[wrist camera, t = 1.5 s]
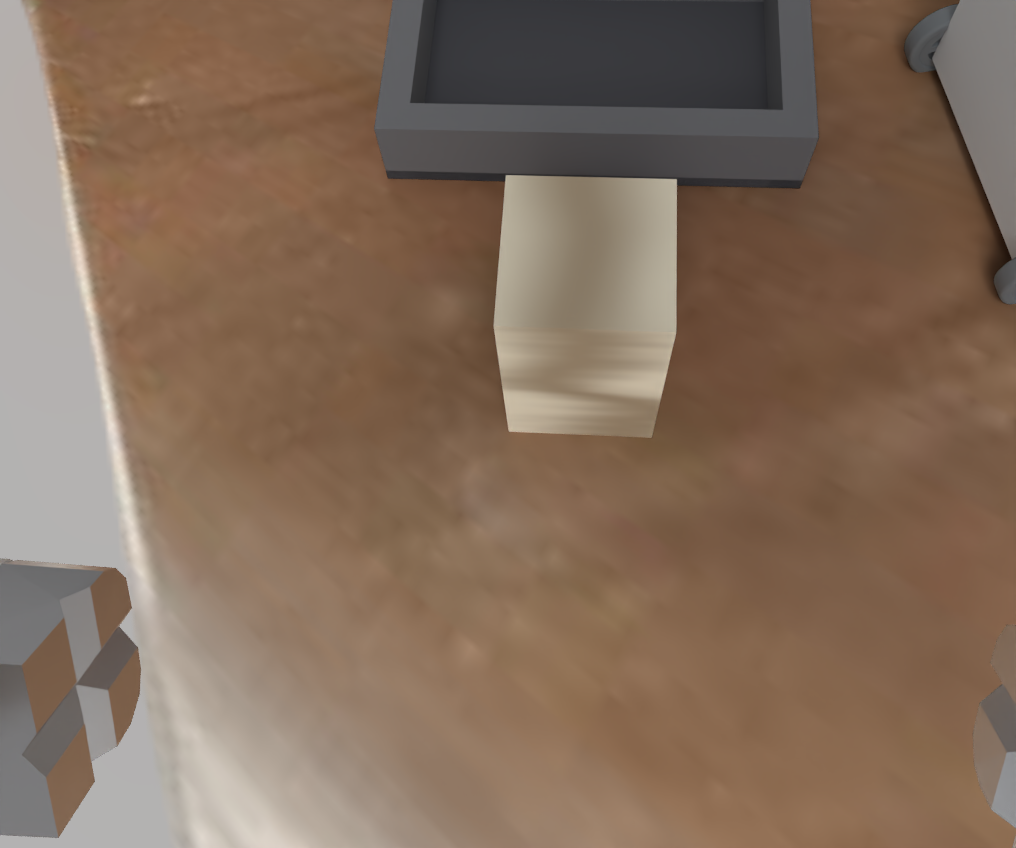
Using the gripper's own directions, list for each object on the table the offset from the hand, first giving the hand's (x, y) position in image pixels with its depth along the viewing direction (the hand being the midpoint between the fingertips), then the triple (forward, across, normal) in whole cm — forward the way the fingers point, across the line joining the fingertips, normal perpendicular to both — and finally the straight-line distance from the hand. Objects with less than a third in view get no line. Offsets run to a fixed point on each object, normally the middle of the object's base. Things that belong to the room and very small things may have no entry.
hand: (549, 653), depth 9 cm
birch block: (+25, -1, +6) cm, 26 cm away
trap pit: (+35, -1, -3) cm, 35 cm away
